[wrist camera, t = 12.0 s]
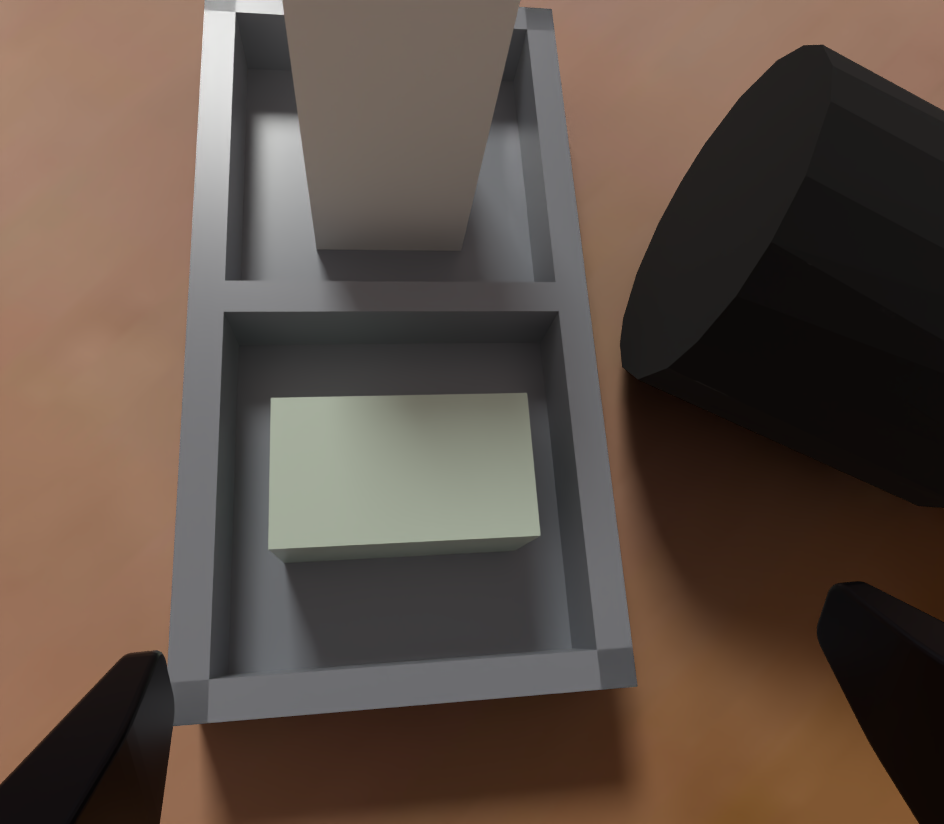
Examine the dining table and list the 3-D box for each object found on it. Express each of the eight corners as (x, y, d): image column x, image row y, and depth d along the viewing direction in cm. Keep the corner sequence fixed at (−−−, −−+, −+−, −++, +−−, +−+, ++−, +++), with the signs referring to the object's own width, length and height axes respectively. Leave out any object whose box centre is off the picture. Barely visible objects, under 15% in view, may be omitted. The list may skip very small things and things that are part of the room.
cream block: (461, 250, 25) (536, -70, 14) (316, 249, 24) (269, -92, 13) (452, 132, 26) (514, -246, 15) (315, 127, 26) (273, -275, 14)
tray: (597, 679, 22) (651, 688, 18) (197, 712, 20) (152, 732, 16) (530, 80, 29) (558, -16, 25) (225, 66, 27) (198, -40, 23)
